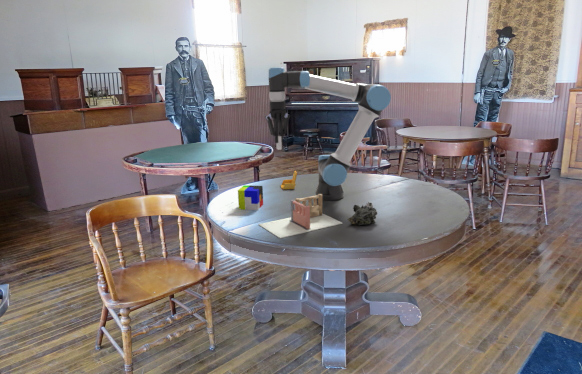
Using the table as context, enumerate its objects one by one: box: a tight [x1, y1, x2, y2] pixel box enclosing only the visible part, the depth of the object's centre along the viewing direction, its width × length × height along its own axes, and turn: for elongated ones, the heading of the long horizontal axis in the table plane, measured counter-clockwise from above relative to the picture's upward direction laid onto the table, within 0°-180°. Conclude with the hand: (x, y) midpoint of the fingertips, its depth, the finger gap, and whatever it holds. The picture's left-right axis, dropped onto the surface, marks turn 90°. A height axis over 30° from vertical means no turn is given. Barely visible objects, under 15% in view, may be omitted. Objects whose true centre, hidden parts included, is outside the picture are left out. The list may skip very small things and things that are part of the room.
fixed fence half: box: [294, 194, 323, 217], centre depth 205 cm, size 14×2×10 cm, turn 120°
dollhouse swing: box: [280, 170, 298, 190], centre depth 261 cm, size 10×10×9 cm
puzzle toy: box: [237, 184, 264, 211], centre depth 225 cm, size 10×10×10 cm
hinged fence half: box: [290, 199, 310, 228], centre depth 195 cm, size 14×2×10 cm, turn 30°
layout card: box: [258, 213, 344, 239], centre depth 198 cm, size 32×20×1 cm, turn 120°
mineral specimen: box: [347, 201, 378, 227], centre depth 198 cm, size 15×13×10 cm
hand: (279, 149), depth 218 cm, fingers closed
